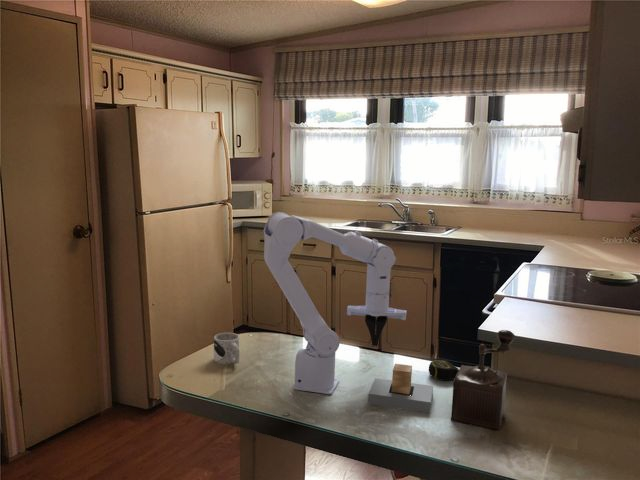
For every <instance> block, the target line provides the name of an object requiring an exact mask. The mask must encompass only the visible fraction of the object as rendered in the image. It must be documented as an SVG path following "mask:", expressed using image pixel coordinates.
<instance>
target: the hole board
mask: <svg viewBox="0 0 640 480" xmlns="http://www.w3.org/2000/svg"><path fill="white" fill-rule="evenodd" d="M368 391H369V392H368V395H367V396H368V397H367V398H368V400H367V404H368V405H374V406H380V407H381V406H382V407H388V408H393V407H395V408H394V409H400V408H402V410H407V409H408V411H409V410H410V411H413V412H414V411H415V412H422V413H428V414H429V413H430V414H431V409H432V402H433V396H434V385H429V384H428V385H427V384H422V383H421V384H420V383H414V382H411V393H410V395H411V396H407V395H400V394H393V393H391V392H392V380H391V379H385V378H376V377H375V378H374V380H373V382H372V384H371V387H370V388H369V390H368Z"/></svg>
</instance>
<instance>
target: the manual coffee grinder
mask: <svg viewBox="0 0 640 480" xmlns="http://www.w3.org/2000/svg"><path fill="white" fill-rule="evenodd" d="M496 338H497V340H498V341H499V342H498V343H499V344H498V346H497V348H486V345H485V344H483V343H481V344H480V345H479V346H478V347H479V350H478V354H479V363H478V365H475V366H472V365H464V364H461V366H460V368H458V369H459V371H458V373H457V375H456V377H455V379H453V381H452V382H453V384H452V385H453V386H452V387H453V388H452V400H451V401H452V402H451V413H450V421H453V422H457V423H460V424H465V425H469V426H473V427H478V428H482V429H485V430H486V429H487V430H492V431H498V432H499V431H500V430H501V427H502V425H503V423H504V422H505V421H506V417H507V415H506V414H505V404H506V403H505V401H506V400H505V399H506V389H507V378H508V377H507V375H508V373H507V372H505V371H500V370H499V369H492V368H490V367H489V366H485V365H484V364H485V355H486V354H489V353H493V354H494V353H501V352H502V353H503V354H504V353H505V352H509V351H511V350H512V349H511V344H512V343H513V342H514V341H515V338H516V336H515V333H513V332H512V331H511V330H508V329H501V330H499V331H498V332H497V333H496Z"/></svg>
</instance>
